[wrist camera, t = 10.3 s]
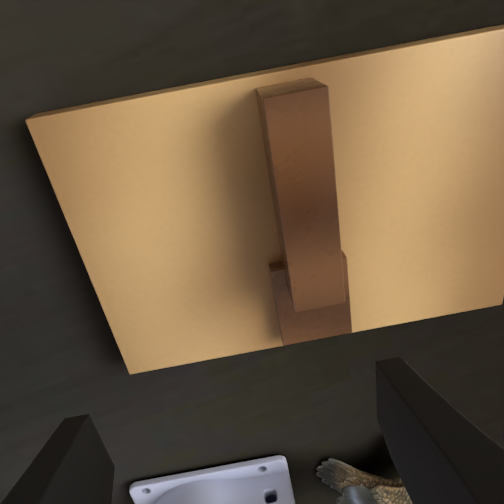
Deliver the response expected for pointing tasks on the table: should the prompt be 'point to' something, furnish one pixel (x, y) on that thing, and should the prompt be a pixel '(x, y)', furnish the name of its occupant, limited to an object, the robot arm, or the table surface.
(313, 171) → the wooden stepped block
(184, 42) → the table surface
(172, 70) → the table surface
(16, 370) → the table surface
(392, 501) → the eagle figurine
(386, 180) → the board
